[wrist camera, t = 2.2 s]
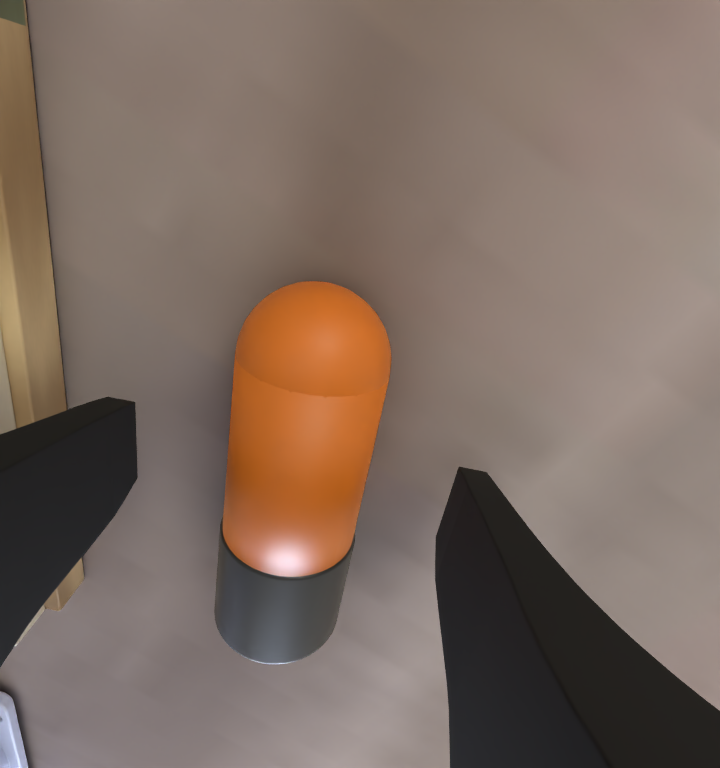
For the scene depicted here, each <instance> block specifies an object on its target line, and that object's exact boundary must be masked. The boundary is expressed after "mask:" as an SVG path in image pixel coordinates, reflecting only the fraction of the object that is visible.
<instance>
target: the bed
mask: <svg viewBox="0 0 720 768" xmlns="http://www.w3.org/2000/svg"><path fill="white" fill-rule="evenodd" d="M66 410H67V405H66V396H65V386H64V376H63V366H62V356H61V346H60V337H59V327H58V317H57V307H56V297H55V287H54V278H53V268H52V258H51V248H50V238H49V228H48V219H47V209H46V199H45V189H44V179H43V170H42V160H41V150H40V140H39V130H38V120H37V111H36V101H35V91H34V81H33V71H32V61H31V52H30V42H29V32H28V22H27V12H26V3H25V0H0V434H3V433H6V432H9V431H11V430H14V429H17V428H20V427H22V426H25V425H28V424H31V423H33V422H36V421H39V420H42V419H44V418H47V417H50V416H53V415H55V414H58V413H61V412H63V411H66ZM83 580H84V572H83V563H82V557H81V559H80V560H79V561H78V562H77V564H76V565H75V566H74V567H73V569H72V570H71V571H70V572H69V574H68V575H67V576H66V577H65V578H64V580H63V581H62V582H61V583H60V585H59V586H58V587H57V588H56V590H55V591H54V592H53V593H52V595H51V596H50V597H49V598H48V599H47V601H46V602H45V603H44V605H43V606H42V607H41V609H40V610H39V611H38V613H37V614H36V615H35V617H34V618H33V619H32V621H31V622H30V623H29V625H28V626H27V628H26V629H25V631H24V632H23V634H22V635H21V637H20V638H19V640H18V641H17V643H16V644H15V646H17V645H18V643H19V642H20V641H21V640H22V638H23V637H24V636H25V634H26V633H27V632H28V631H29V629H30V628H31V627H32V626H33V624H34V623H35V622H36V620H37V619H38V618H39V617H40V615H41V614H42V613H43V612H44V610H45V609H50V610H55V611H60V610H61V609H62V608H63V607H64V605H65V604H66V603H67V601H68V600H69V599H70V597H71V596H72V595H73V593H74V592H75V591H76V589H77V588H78V587H79V585H80V584H81V583H82V581H83Z"/></svg>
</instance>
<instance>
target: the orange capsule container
mask: <svg viewBox="0 0 720 768" xmlns="http://www.w3.org/2000/svg"><path fill="white" fill-rule="evenodd" d="M390 368H391V349H390V342H389V339H388V336H387V333H386V330H385V328H384V325H383V324H382V322H381V320H380V318H379V317H378V315H377V313H376V312H375V311H374V310H373V309H372V308H371V307H370V306H369V305H368V303H367V302H366V301H365V300H363V299H362V298H361V297H359V296H358V295H356V294H355V293H353V292H352V291H350V290H348V289H346V288H344V287H341V286H338V285H335V284H332V283H328V282H321V281H304V282H298V283H294V284H291V285H287V286H284V287H282V288H280V289H278V290H276V291H274V292H273V293H271V294H269V295H267V296H266V297H265V298H264V299H263V300H262V301H261V302H260V303H259V304H257V305H256V306H255V307H254V308H253V310H252V311H251V313H250V314H249V315H248V317H247V318H246V320H245V322H244V324H243V326H242V329H241V331H240V333H239V336H238V340H237V345H236V351H235V363H234V377H233V390H232V404H231V418H230V432H229V446H228V459H227V473H226V487H225V501H224V515H223V518H222V521H221V525H220V539H219V553H218V567H217V582H216V596H215V610H214V613H215V621H216V625H217V628H218V630H219V632H220V634H221V636H222V637H223V639H224V640H225V642H226V643H227V644H228V645H229V646H230V647H231V648H232V649H233V650H234V651H236V652H237V653H239V654H240V655H242V656H243V657H246V658H248V659H250V660H253V661H256V662H260V663H266V664H286V663H290V662H295V661H298V660H300V659H303V658H305V657H307V656H309V655H311V654H312V653H314V652H315V651H316V650H318V649H319V648H320V647H321V646H322V645H323V644H324V643H325V642H326V641H327V640H328V638H329V637H330V635H331V634H332V632H333V629H334V627H335V624H336V621H337V617H338V612H339V608H340V603H341V599H342V595H343V590H344V586H345V581H346V577H347V573H348V568H349V564H350V560H351V555H352V551H353V546H354V542H355V528H356V523H357V519H358V515H359V510H360V506H361V501H362V497H363V492H364V488H365V483H366V479H367V475H368V470H369V466H370V461H371V457H372V452H373V448H374V444H375V439H376V435H377V430H378V426H379V421H380V417H381V413H382V408H383V404H384V399H385V395H386V390H387V386H388V382H389V377H390Z"/></svg>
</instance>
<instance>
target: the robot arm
mask: <svg viewBox="0 0 720 768" xmlns="http://www.w3.org/2000/svg"><path fill="white" fill-rule="evenodd" d="M136 479H137V446H136V413H135V402H131V401H126V400H121V399H116V398H111V397H106V398H102V399H98V400H95V401H92V402H89V403H86V404H83V405H80V406H77V407H74V408H72V409H69V410H66V411H63V412H61V413H58V414H55V415H53V416H50V417H47V418H44V419H42V420H39V421H36V422H33V423H31V424H28V425H25V426H22V427H20V428H17V429H14V430H11V431H9V432H6V433H3V434H0V667H1V665H2V664H3V662H4V661H5V659H6V658H7V656H8V655H9V653H10V652H11V650H12V649H13V647H14V646H15V644H16V643H17V641H18V640H19V638H20V637H21V635H22V634H23V632H24V631H25V629H26V628H27V626H28V625H29V623H30V622H31V621H32V619H33V618H34V617H35V615H36V614H37V613H38V611H39V610H40V609H41V607H42V606H43V605H44V603H45V602H46V601H47V599H48V598H49V597H50V596H51V595H52V593H53V592H54V591H55V590H56V588H57V587H58V586H59V585H60V583H61V582H62V581H63V580H64V578H65V577H66V576H67V575H68V574H69V572H70V571H71V570H72V569H73V567H74V566H75V565H76V564H77V562H78V561H79V560H80V559H81V557H82V556H83V555H84V554H85V553H86V551H87V550H88V549H89V548H90V546H91V545H92V544H93V543H94V541H95V540H96V539H97V538H98V536H99V535H100V534H101V532H102V531H103V530H104V529H105V527H106V526H107V525H108V524H109V522H110V521H111V520H112V518H113V517H114V516H115V514H116V513H117V511H118V509H119V508H120V506H121V505H122V503H123V501H124V500H125V498H126V496H127V495H128V493H129V491H130V490H131V488H132V486H133V484H134V483H135V481H136ZM435 581H436V591H437V600H438V609H439V618H440V627H441V635H442V644H443V653H444V661H445V670H446V679H447V689H448V703H449V734H450V768H720V711H719V710H718V709H717V708H715V707H714V706H713V705H711V704H710V703H709V702H707V701H706V700H705V699H703V698H702V697H701V696H700V695H698V694H697V693H696V692H695V691H693V690H692V689H691V688H690V687H688V686H687V685H686V684H685V683H684V682H682V681H681V680H680V679H679V678H677V677H676V676H675V675H674V674H672V673H671V672H670V671H669V670H668V669H667V668H666V667H664V666H663V665H662V664H661V663H660V662H659V661H657V660H656V659H655V658H654V657H653V656H652V655H650V654H649V653H648V652H647V651H646V650H645V649H643V648H642V647H641V646H640V645H639V644H638V643H637V642H636V641H634V640H633V639H632V638H631V637H630V636H629V635H628V634H627V633H626V632H625V631H623V630H622V629H621V628H620V627H619V626H618V625H617V624H616V623H615V622H614V621H613V620H612V619H611V618H610V617H609V616H608V615H607V614H606V613H605V612H604V611H603V610H602V609H601V608H600V607H599V606H598V605H597V604H596V603H595V602H594V601H593V600H592V599H591V598H590V597H589V596H588V595H587V594H586V593H585V592H584V591H583V590H582V589H581V588H580V587H579V586H578V585H577V584H576V583H575V582H574V581H573V579H572V578H571V577H570V576H569V575H568V574H567V573H566V572H565V570H564V569H563V568H562V567H561V566H560V565H559V564H558V562H557V561H556V560H555V559H554V558H553V557H552V556H551V554H550V553H549V552H548V551H547V550H546V548H545V547H544V546H543V545H542V544H541V542H540V541H539V540H538V539H537V538H536V536H535V535H534V534H533V533H532V531H531V530H530V529H529V527H528V526H527V525H526V524H525V522H524V521H523V520H522V518H521V517H520V516H519V515H518V513H517V512H516V511H515V509H514V508H513V507H512V505H511V504H510V503H509V501H508V500H507V499H506V497H505V496H504V495H503V493H502V492H501V491H500V489H499V488H498V486H497V485H496V484H495V482H494V481H493V480H492V479H491V477H490V476H489V475H488V474H487V472H483V471H478V470H473V469H468V468H463V467H459V468H458V471H457V474H456V477H455V480H454V483H453V486H452V489H451V492H450V495H449V499H448V502H447V505H446V508H445V511H444V514H443V517H442V520H441V523H440V526H439V529H438V532H437V535H436V555H435ZM0 768H28V763H27V759H26V754H25V750H24V746H23V741H22V737H21V732H20V728H19V724H18V719H17V715H16V710H15V706H14V701H13V699H12V697H10V696H9V695H8V694H6V693H5V692H2V691H0Z"/></svg>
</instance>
